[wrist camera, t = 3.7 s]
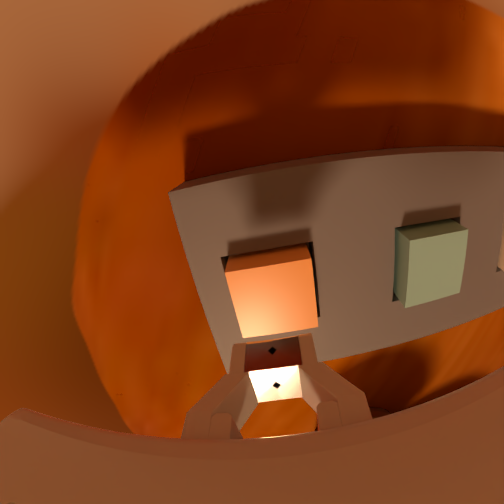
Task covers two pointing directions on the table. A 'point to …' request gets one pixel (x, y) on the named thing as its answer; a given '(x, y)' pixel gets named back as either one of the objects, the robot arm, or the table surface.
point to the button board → (348, 238)
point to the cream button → (501, 253)
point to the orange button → (273, 290)
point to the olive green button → (429, 261)
